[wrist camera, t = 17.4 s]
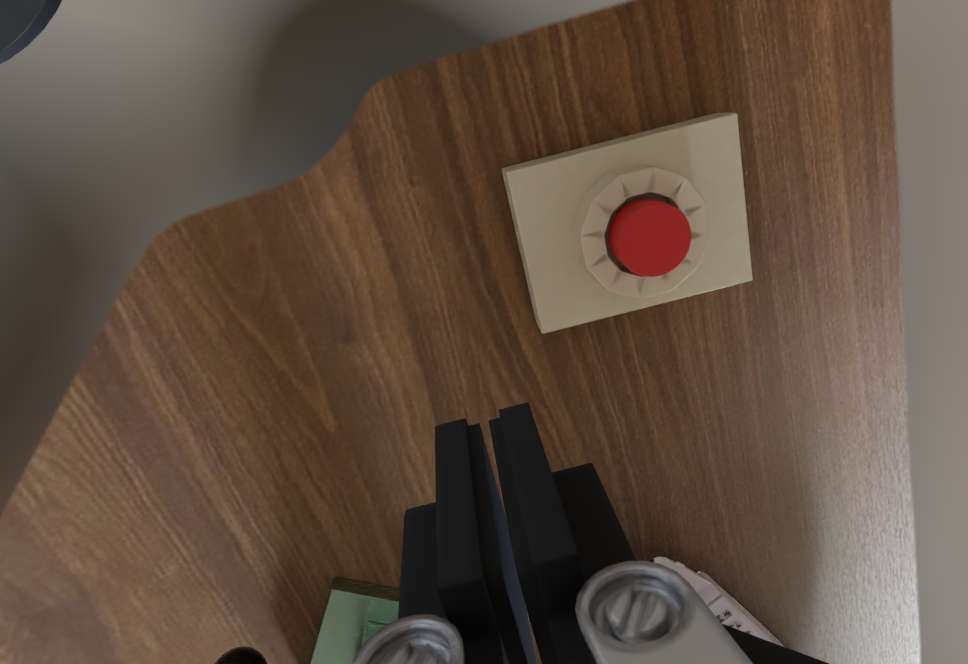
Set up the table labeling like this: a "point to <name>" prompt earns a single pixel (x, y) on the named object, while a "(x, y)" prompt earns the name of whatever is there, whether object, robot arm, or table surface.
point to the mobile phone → (720, 601)
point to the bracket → (352, 619)
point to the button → (650, 237)
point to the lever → (242, 656)
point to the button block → (604, 192)
